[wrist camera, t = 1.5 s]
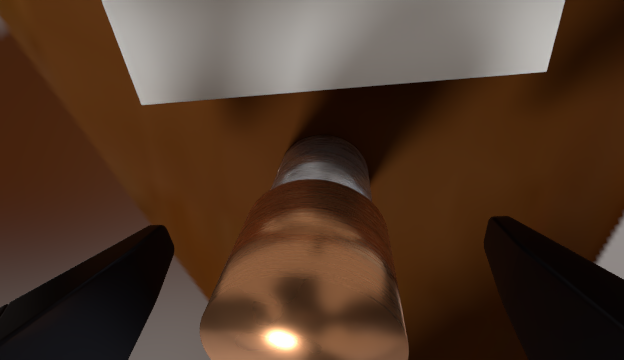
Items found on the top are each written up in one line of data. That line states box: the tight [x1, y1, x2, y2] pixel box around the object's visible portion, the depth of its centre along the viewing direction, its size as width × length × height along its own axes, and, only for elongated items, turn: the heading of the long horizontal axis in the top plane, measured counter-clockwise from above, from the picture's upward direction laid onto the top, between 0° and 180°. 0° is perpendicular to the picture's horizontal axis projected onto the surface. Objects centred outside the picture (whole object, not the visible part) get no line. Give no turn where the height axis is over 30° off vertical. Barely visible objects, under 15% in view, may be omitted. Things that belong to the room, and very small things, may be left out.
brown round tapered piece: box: [200, 135, 409, 360], centre depth 8 cm, size 4×4×6 cm
